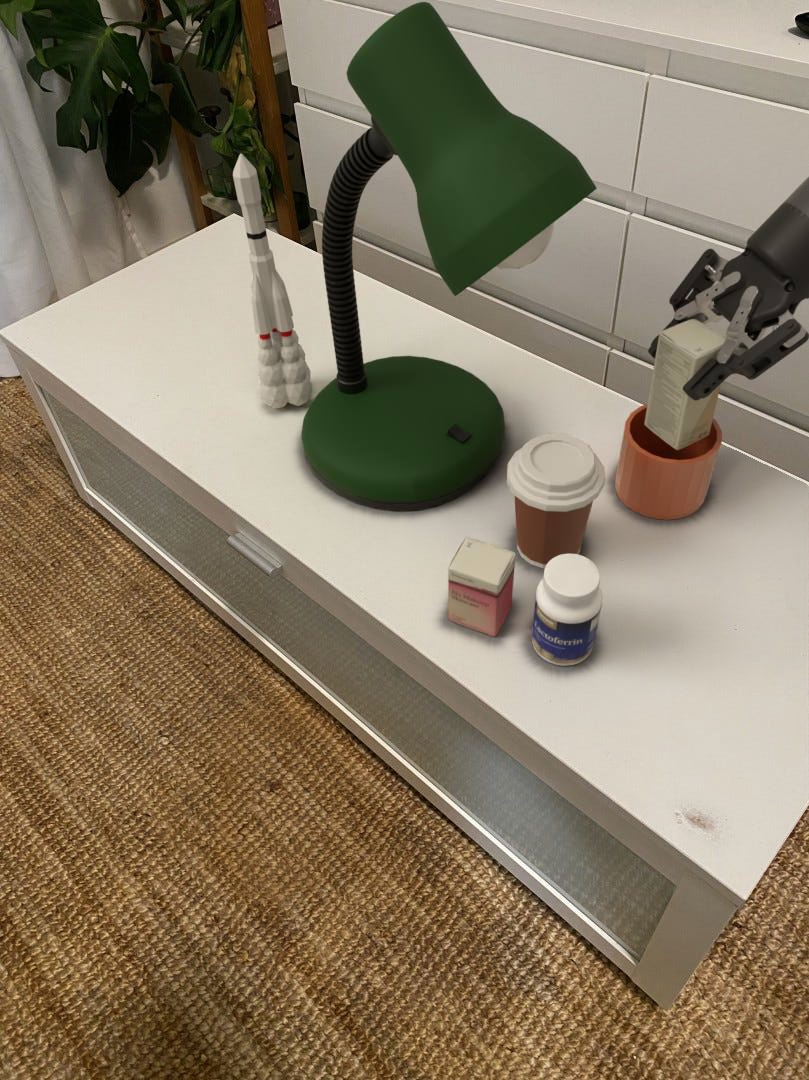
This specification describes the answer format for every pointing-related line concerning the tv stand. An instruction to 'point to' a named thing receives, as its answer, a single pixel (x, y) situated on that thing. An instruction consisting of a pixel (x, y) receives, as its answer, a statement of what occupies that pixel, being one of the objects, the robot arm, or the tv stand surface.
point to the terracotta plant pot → (664, 470)
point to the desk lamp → (457, 253)
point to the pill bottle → (567, 610)
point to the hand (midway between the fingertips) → (671, 375)
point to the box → (682, 384)
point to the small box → (480, 586)
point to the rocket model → (270, 305)
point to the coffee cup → (553, 495)
